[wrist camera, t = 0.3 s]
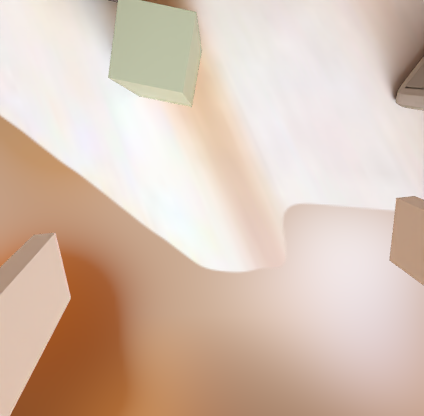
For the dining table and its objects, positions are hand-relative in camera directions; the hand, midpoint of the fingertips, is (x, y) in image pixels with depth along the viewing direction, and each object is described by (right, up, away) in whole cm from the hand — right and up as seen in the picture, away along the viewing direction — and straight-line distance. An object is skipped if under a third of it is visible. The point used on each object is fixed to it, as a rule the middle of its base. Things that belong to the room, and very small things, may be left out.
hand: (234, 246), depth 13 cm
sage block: (-6, +16, +24) cm, 29 cm away
